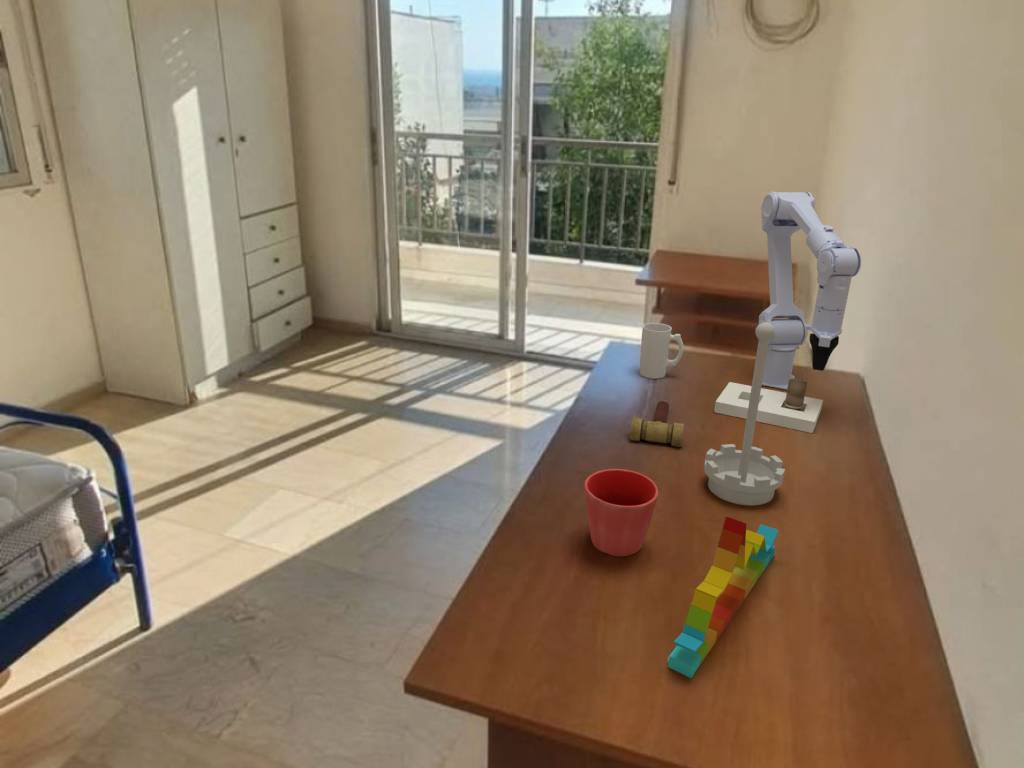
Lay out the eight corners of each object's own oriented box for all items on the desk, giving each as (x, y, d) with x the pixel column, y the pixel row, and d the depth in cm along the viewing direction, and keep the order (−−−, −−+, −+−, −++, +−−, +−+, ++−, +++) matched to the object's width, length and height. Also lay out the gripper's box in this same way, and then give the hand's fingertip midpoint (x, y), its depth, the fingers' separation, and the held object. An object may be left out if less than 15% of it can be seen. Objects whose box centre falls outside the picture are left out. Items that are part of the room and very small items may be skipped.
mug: (635, 376, 173) (640, 329, 169) (641, 367, 179) (645, 321, 175) (677, 383, 170) (683, 334, 166) (682, 373, 176) (687, 326, 172)
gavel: (642, 389, 159) (688, 394, 156) (640, 408, 160) (686, 414, 158) (631, 421, 140) (683, 429, 137) (628, 443, 141) (681, 451, 139)
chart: (752, 549, 109) (767, 461, 103) (773, 557, 107) (790, 468, 102) (665, 667, 86) (679, 563, 81) (690, 680, 85) (706, 574, 79)
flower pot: (597, 568, 104) (601, 510, 100) (571, 526, 113) (574, 472, 110) (664, 558, 106) (671, 500, 103) (633, 518, 116) (638, 464, 112)
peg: (784, 411, 156) (790, 377, 153) (802, 415, 155) (808, 380, 152) (781, 417, 153) (787, 382, 150) (799, 421, 152) (805, 386, 149)
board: (728, 392, 166) (729, 381, 165) (820, 410, 157) (822, 400, 156) (714, 412, 155) (715, 401, 154) (812, 433, 146) (815, 422, 145)
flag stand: (785, 513, 118) (817, 339, 107) (703, 503, 121) (727, 332, 109) (774, 474, 130) (803, 314, 119) (700, 466, 132) (721, 308, 121)
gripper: (810, 296, 155) (799, 355, 160) (807, 313, 143) (796, 377, 148) (846, 300, 153) (834, 360, 158) (846, 318, 140) (833, 383, 145)
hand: (818, 369), depth 153 cm, fingers closed
